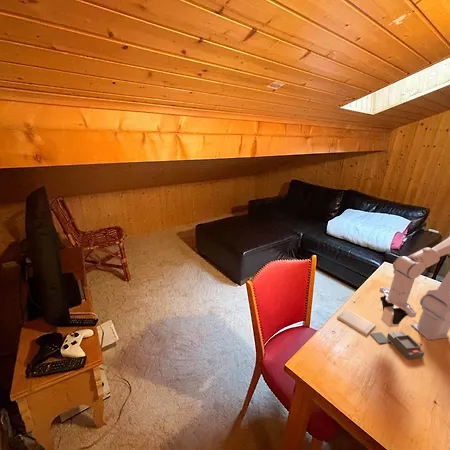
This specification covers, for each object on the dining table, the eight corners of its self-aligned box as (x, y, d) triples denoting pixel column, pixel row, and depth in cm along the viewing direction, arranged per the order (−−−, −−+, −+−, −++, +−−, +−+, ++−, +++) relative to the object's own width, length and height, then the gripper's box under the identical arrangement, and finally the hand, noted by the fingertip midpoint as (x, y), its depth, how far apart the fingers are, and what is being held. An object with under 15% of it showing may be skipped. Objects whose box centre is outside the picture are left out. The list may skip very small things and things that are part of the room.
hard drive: (337, 315, 105) (366, 333, 95) (347, 308, 109) (376, 324, 100) (336, 318, 105) (366, 336, 96) (346, 311, 110) (375, 327, 101)
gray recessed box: (400, 336, 96) (402, 329, 94) (422, 357, 86) (425, 350, 85) (386, 337, 95) (389, 330, 94) (407, 359, 86) (410, 352, 85)
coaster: (381, 332, 97) (381, 332, 97) (390, 342, 93) (390, 341, 93) (370, 334, 97) (370, 333, 97) (378, 343, 92) (378, 342, 92)
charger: (390, 318, 93) (394, 306, 91) (398, 326, 89) (402, 313, 87) (380, 319, 92) (384, 307, 90) (388, 327, 89) (392, 314, 87)
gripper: (375, 278, 91) (367, 306, 96) (407, 303, 78) (396, 335, 83) (392, 276, 92) (383, 305, 97) (426, 301, 79) (414, 333, 84)
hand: (390, 319), depth 90 cm, fingers closed on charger, 4 cm apart
